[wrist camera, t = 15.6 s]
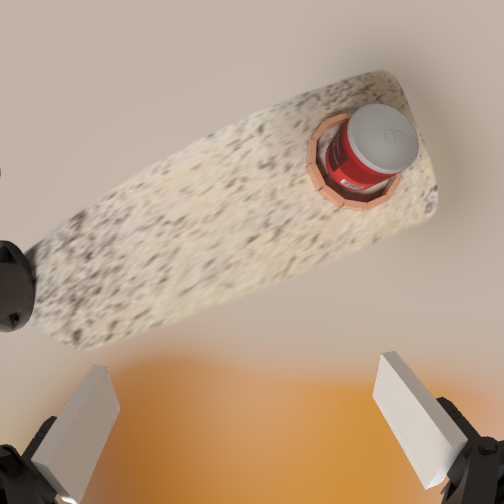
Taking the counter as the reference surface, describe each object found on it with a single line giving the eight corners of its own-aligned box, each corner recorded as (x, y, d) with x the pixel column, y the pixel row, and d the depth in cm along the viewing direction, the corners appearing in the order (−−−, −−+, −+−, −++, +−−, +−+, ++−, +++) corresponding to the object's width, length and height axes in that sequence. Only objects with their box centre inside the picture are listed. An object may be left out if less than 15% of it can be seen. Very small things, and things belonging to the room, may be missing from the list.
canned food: (388, 179, 37) (430, 159, 26) (339, 201, 37) (372, 184, 26) (363, 129, 37) (396, 95, 26) (313, 147, 37) (335, 113, 26)
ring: (332, 225, 37) (336, 223, 35) (290, 136, 37) (292, 130, 35) (408, 190, 37) (415, 187, 35) (368, 109, 37) (373, 104, 35)
